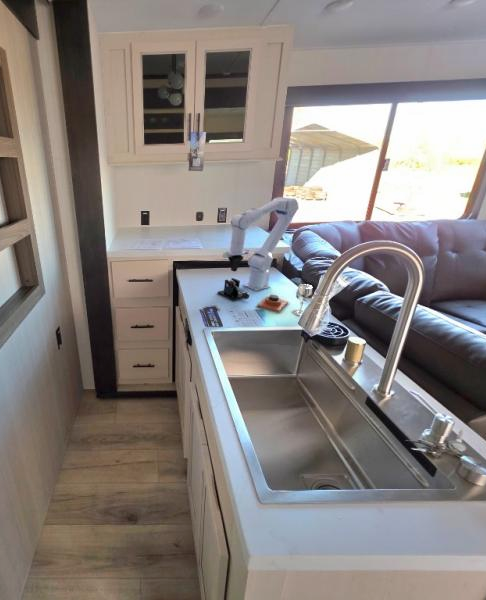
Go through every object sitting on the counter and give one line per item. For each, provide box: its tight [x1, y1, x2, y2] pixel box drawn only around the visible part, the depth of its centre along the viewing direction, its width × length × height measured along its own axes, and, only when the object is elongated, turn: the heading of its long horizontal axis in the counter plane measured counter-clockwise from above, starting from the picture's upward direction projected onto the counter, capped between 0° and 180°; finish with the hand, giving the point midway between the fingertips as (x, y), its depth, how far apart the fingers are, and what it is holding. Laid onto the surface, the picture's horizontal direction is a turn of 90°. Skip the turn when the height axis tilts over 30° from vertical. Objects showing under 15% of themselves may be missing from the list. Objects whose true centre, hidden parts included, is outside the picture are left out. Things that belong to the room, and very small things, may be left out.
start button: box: [269, 294, 280, 301], centre depth 135 cm, size 4×4×2 cm
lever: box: [229, 279, 250, 300], centre depth 141 cm, size 12×3×3 cm, turn 31°
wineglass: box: [293, 283, 313, 316], centre depth 127 cm, size 6×6×12 cm
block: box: [257, 295, 289, 313], centre depth 136 cm, size 12×9×3 cm
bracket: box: [217, 277, 244, 302], centre depth 144 cm, size 10×7×8 cm
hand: (233, 270), depth 147 cm, fingers closed
